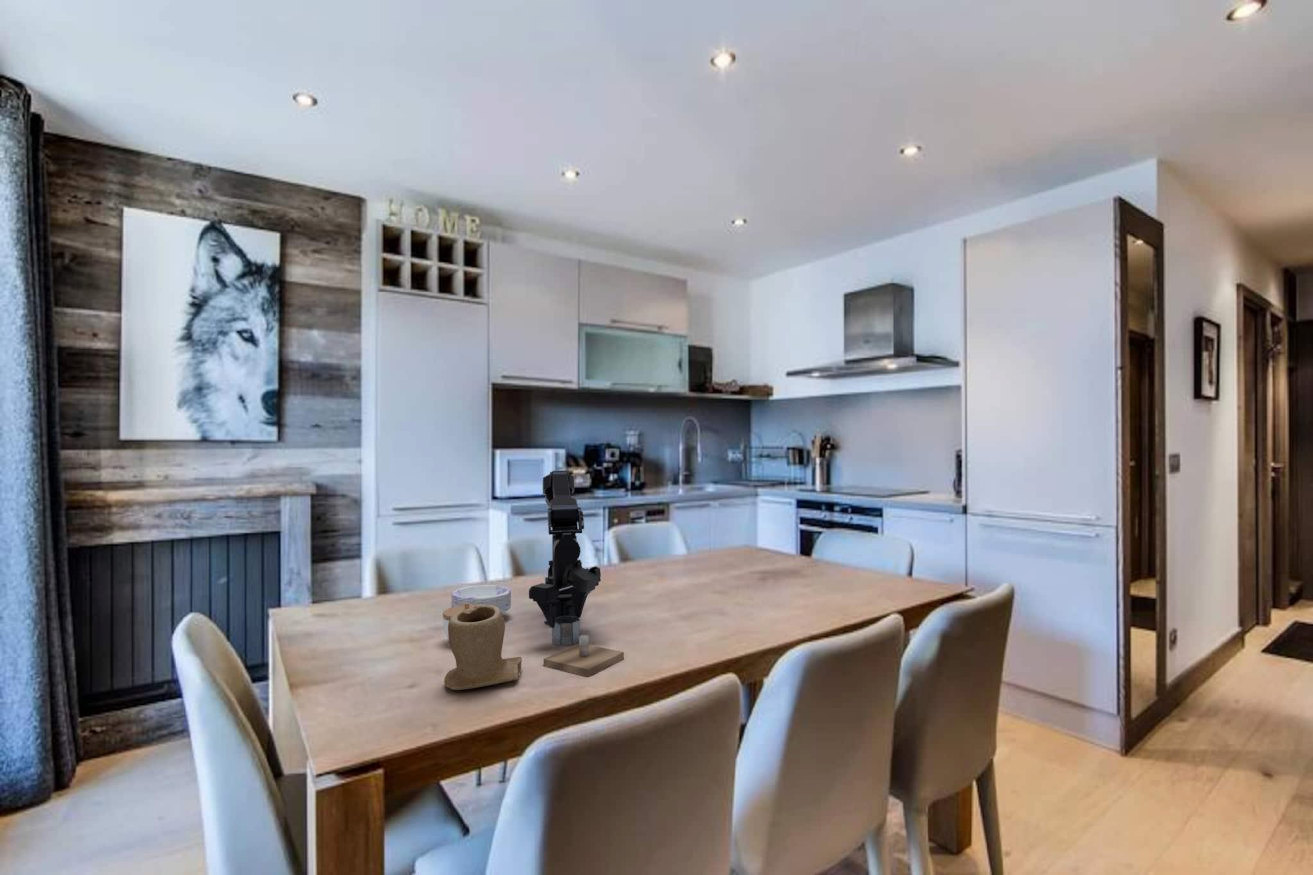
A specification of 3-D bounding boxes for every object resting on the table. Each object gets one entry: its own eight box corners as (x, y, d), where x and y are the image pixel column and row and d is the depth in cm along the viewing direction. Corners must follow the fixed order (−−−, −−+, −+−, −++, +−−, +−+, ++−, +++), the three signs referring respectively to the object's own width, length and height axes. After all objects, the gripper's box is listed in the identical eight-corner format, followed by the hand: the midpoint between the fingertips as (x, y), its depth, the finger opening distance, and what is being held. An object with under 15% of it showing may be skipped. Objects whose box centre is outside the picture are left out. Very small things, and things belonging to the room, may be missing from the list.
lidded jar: (499, 638, 150) (499, 599, 150) (472, 652, 140) (472, 610, 140) (462, 634, 154) (461, 596, 154) (433, 648, 143) (432, 607, 144)
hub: (546, 642, 146) (546, 621, 146) (564, 635, 152) (564, 614, 152) (567, 647, 143) (566, 625, 143) (585, 639, 148) (584, 618, 148)
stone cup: (445, 701, 114) (444, 619, 114) (443, 678, 125) (443, 603, 125) (529, 689, 119) (528, 610, 119) (521, 668, 130) (520, 596, 130)
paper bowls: (523, 617, 168) (523, 587, 168) (479, 632, 155) (479, 600, 155) (483, 609, 176) (483, 581, 176) (439, 623, 164) (438, 592, 164)
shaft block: (543, 665, 131) (543, 639, 131) (580, 649, 141) (580, 625, 141) (588, 677, 124) (587, 649, 124) (623, 658, 135) (623, 633, 135)
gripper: (564, 566, 135) (565, 638, 135) (615, 552, 151) (616, 617, 151) (526, 561, 141) (527, 630, 141) (580, 549, 157) (581, 611, 157)
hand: (565, 622), depth 148 cm, fingers open, 9 cm apart
